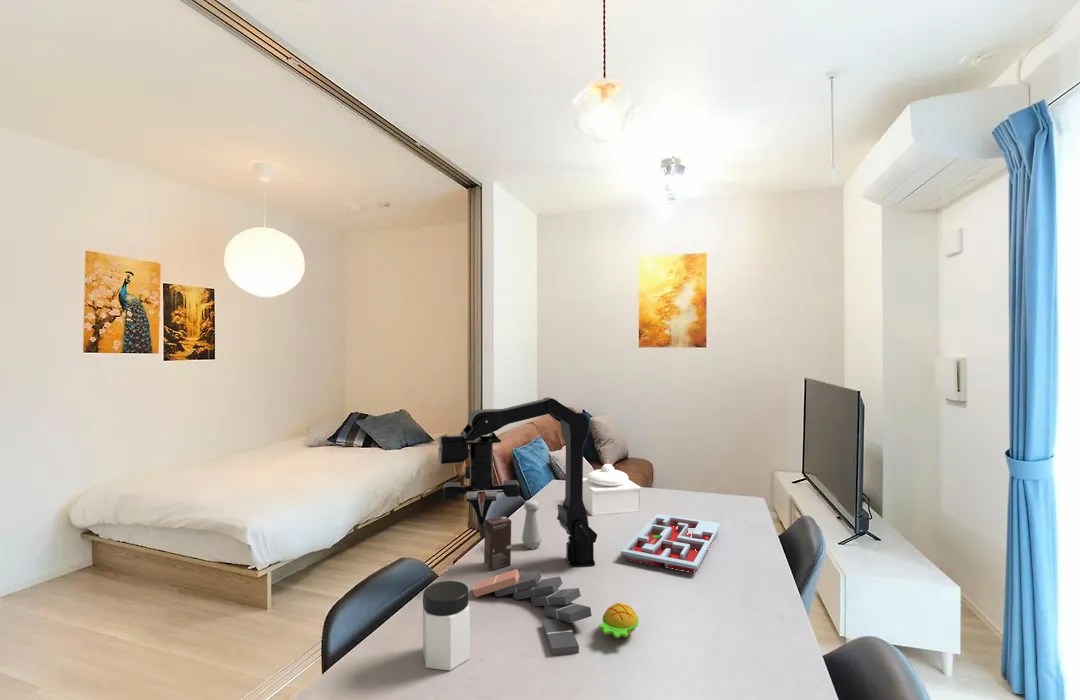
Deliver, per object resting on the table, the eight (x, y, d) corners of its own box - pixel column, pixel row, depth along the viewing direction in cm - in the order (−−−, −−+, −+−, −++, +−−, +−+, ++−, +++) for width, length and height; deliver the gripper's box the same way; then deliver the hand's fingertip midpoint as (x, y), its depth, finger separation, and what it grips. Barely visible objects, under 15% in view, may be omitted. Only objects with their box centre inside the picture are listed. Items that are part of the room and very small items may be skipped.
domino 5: (564, 608, 107) (591, 616, 98) (545, 615, 104) (571, 623, 96) (563, 600, 107) (590, 607, 99) (543, 606, 104) (569, 613, 96)
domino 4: (547, 597, 112) (580, 596, 105) (532, 606, 108) (566, 605, 102) (545, 590, 112) (578, 588, 106) (530, 598, 108) (564, 596, 102)
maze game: (696, 579, 121) (696, 566, 121) (620, 563, 131) (620, 551, 131) (720, 533, 152) (720, 523, 152) (657, 523, 161) (657, 513, 161)
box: (491, 571, 125) (491, 524, 125) (483, 565, 129) (483, 519, 129) (512, 566, 128) (512, 519, 129) (503, 560, 132) (503, 515, 132)
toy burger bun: (643, 627, 99) (643, 600, 99) (628, 654, 90) (627, 624, 90) (610, 619, 102) (610, 593, 102) (593, 644, 93) (592, 616, 93)
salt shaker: (544, 543, 143) (544, 499, 144) (538, 551, 138) (538, 504, 138) (526, 541, 145) (525, 497, 145) (518, 548, 140) (518, 502, 140)
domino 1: (479, 588, 116) (519, 575, 116) (475, 597, 111) (517, 583, 111) (477, 581, 116) (517, 568, 116) (473, 590, 111) (514, 576, 111)
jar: (450, 637, 96) (450, 575, 96) (479, 653, 91) (479, 588, 91) (412, 659, 89) (411, 592, 89) (440, 678, 84) (440, 607, 84)
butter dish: (577, 502, 185) (576, 459, 185) (622, 498, 189) (621, 457, 189) (592, 516, 168) (591, 470, 168) (641, 512, 172) (640, 467, 172)
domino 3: (524, 590, 115) (562, 583, 111) (515, 600, 110) (554, 593, 107) (522, 583, 115) (560, 576, 112) (513, 592, 111) (552, 585, 107)
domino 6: (566, 625, 101) (578, 654, 91) (542, 627, 100) (552, 657, 90) (566, 617, 101) (578, 645, 91) (542, 619, 100) (552, 648, 90)
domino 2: (501, 587, 116) (541, 577, 115) (496, 597, 112) (537, 586, 110) (499, 580, 117) (539, 570, 115) (493, 590, 112) (534, 578, 110)
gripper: (517, 453, 132) (517, 512, 131) (446, 455, 130) (446, 515, 130) (519, 462, 121) (520, 526, 120) (442, 465, 119) (442, 530, 118)
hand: (481, 524), depth 122 cm, fingers closed
